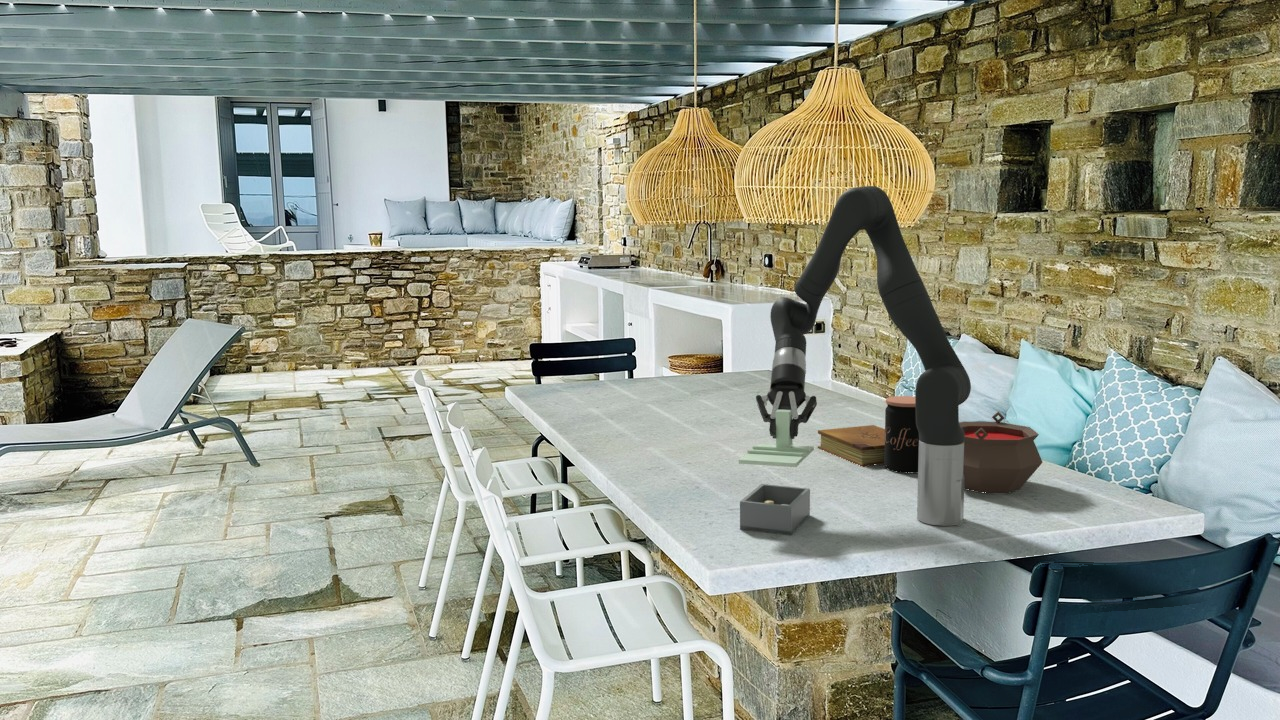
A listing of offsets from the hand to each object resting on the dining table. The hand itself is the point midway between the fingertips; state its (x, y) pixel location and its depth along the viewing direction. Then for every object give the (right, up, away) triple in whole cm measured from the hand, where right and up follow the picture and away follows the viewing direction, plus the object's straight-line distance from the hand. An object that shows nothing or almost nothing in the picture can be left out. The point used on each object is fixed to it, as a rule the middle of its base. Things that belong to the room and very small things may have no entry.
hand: (783, 436), depth 217 cm
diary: (+32, -10, +59) cm, 68 cm away
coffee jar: (+37, -12, +42) cm, 58 cm away
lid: (-2, -4, -3) cm, 5 cm away
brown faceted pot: (+53, -14, +25) cm, 60 cm away
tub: (-2, -18, -1) cm, 18 cm away
